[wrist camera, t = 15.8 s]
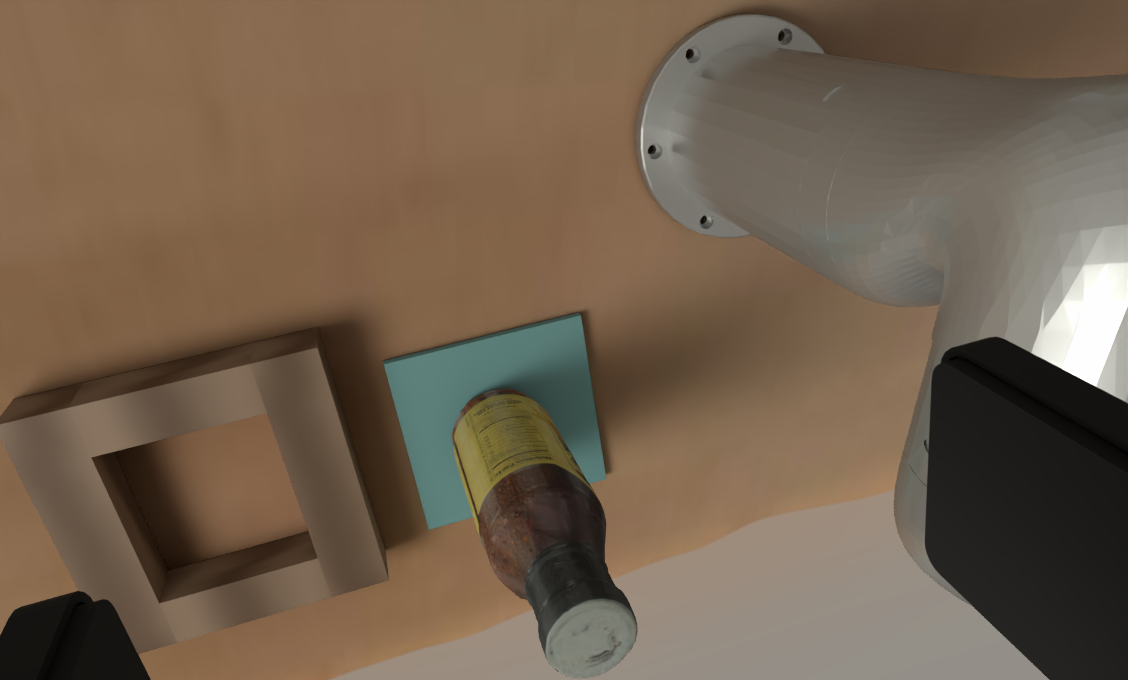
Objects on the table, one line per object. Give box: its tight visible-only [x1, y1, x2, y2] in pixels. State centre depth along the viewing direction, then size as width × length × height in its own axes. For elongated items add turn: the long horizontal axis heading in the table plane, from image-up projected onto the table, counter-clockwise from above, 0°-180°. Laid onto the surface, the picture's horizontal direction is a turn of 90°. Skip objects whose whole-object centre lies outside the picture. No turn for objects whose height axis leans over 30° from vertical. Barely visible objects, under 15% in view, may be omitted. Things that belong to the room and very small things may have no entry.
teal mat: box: [383, 313, 606, 530], centre depth 52 cm, size 12×12×1 cm
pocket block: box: [0, 327, 389, 654], centre depth 48 cm, size 16×16×3 cm
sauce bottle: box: [452, 388, 637, 678], centre depth 43 cm, size 7×6×20 cm
